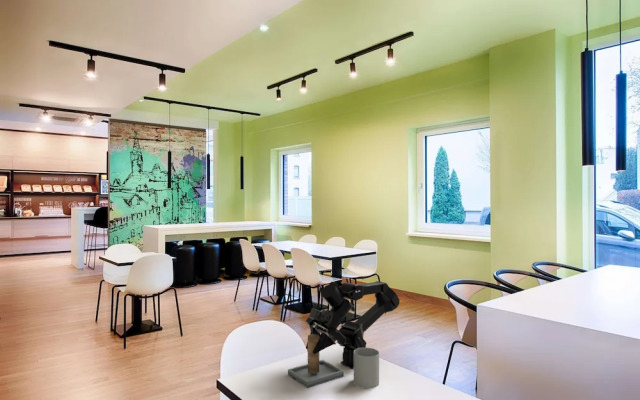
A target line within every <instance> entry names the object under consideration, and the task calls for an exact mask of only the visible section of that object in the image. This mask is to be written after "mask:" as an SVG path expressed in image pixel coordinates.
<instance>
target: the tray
mask: <svg viewBox="0 0 640 400" xmlns="http://www.w3.org/2000/svg"><path fill="white" fill-rule="evenodd" d="M287 376H289V377H290V378H292V379H293V380H295V381H297V382H298V383H299V384H300V385H302V386H304V388H305V387H306V388H307V389H309V388H311V387H315V386H318V385H320V384H323V383H326V382H330V381H332V380H337V379H339V378H342V377H344V376H345V370H344V369H341V368H339V367H337V366H335V365H334V364H332V363H330V362H328V361H326V360H324V359H321V360H320V359H319V373H316V374H310V373H308V363H306V364H303V365H299V366H296V367H293V368H288V369H287Z"/></svg>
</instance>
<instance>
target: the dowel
mask: <svg viewBox="0 0 640 400" xmlns="http://www.w3.org/2000/svg"><path fill="white" fill-rule="evenodd" d="M318 341H319V335H317V334H310V333H309V334H308V335H307V342H308V350H307V364H308V373H310V374H316V373H319V361H320V352H318V353H316V354H314V353H313V350H314V348H315V346H316V345H317V343H318Z"/></svg>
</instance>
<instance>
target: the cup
mask: <svg viewBox="0 0 640 400" xmlns="http://www.w3.org/2000/svg"><path fill="white" fill-rule="evenodd" d="M353 385H355V386H357V387H359V388H362V389H374V388H377V387H378V386H380V351H378V349H375V348H372V347H366V348H357V349H355V350H354V368H353Z"/></svg>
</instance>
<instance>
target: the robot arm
mask: <svg viewBox="0 0 640 400" xmlns="http://www.w3.org/2000/svg"><path fill="white" fill-rule="evenodd" d="M373 294H374V297H375V303H374V304H373V305H372V306H371V307H370V308H369V309H367V311H366V312H364V313H363V314H362V315H360V317H359V318H358V319H357V320H356V321H351V320H347V321H345V322H344V321H343V320H344V319H345V318H346V316H347V315H348V314H349V312H350V311H351V312H353V313H355V311H356V308H355V303H353V302H351V301H355V302H356V301H359V300H361V299H363V297H365V296H369V295H373ZM320 295H321V297H322V299H324V301H325V302H326V303H327V304H328V305H329V307H331V308H330V309H322V311H321V310H318V309H316V308H313V307H312V308H311V310H310V313H309V316H308V317H307V318H306V320H305V323H306V324H307V325H308V327H309V329H310V333H309V335H310V334H317V335H319V341H318V343H317V345H316V346H315V348H314V350H313V353H314V354H316V353H318V352H319V353H320V352H321V351H323V350H325V349H327V348H329V347H331V346H334V345H337V344H338V345H339V347H343V351H342V361H341V360H340V364H341V365H343V366H345V367H347V368H349V369H352V370H354V350H355V349H357V348H367V341H366V340H365V339H364V335H365V334H364V333H366V331H367V330H368V329H369V328H370V327H371V326H372V325H374V323H376V322H377V321H378V320H379V319H380V318H381V317H382V316H383V315H384V314H386V313H389V312H392V311H395V310H396V309H397V308H398V307H399V306H400V302H401V301H400V298H399V296H398V294H397V293H396V292H395V291H394V290H393V289H392V288H391V287H390V286H389V284H388V283H386V282H384V281H379V280H378V281H374V282H367V283H366V282H365V283H359V284H358V283H352V282H343V283H342V284H341V285H340V286H339V285H338V282H335V281H330V283H329V284H327V285H325V286H324V287H322V289H321V291H320ZM350 300H351V301H350ZM339 326H340V328H339V329H338V327H339ZM305 349H306V350H307V351H308V341H307V343H306V346H305Z"/></svg>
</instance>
